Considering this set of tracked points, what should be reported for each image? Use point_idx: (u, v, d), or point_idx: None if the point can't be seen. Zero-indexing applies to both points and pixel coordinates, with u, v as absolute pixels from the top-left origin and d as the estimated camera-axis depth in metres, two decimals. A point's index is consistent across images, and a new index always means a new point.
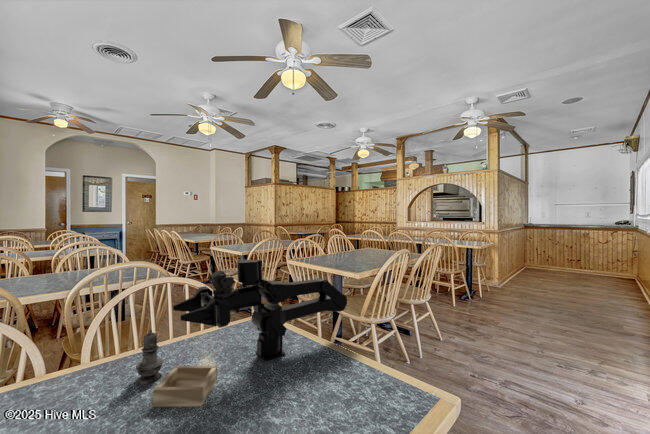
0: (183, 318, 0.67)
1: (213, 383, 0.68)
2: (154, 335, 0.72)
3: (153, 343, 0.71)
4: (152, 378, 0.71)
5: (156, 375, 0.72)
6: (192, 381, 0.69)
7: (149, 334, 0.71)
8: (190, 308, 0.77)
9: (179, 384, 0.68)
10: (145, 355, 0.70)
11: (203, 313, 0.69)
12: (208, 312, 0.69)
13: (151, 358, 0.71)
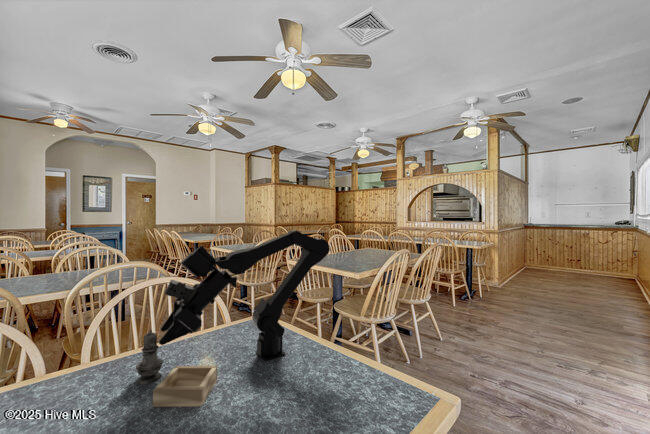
0: (162, 342, 0.69)
1: (213, 383, 0.68)
2: (154, 335, 0.72)
3: (153, 343, 0.71)
4: (152, 378, 0.71)
5: (156, 375, 0.72)
6: (192, 381, 0.69)
7: (149, 334, 0.71)
8: None
9: (179, 384, 0.68)
10: (145, 355, 0.70)
11: (175, 328, 0.69)
12: (179, 325, 0.70)
13: (151, 358, 0.71)
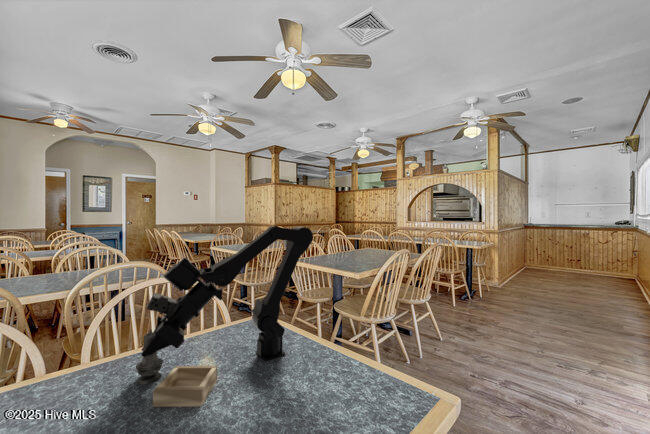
0: (144, 354, 0.69)
1: (213, 383, 0.68)
2: (154, 335, 0.72)
3: None
4: (152, 378, 0.71)
5: (156, 375, 0.72)
6: (192, 381, 0.69)
7: (149, 334, 0.71)
8: None
9: (179, 384, 0.68)
10: None
11: (158, 340, 0.70)
12: None
13: (151, 358, 0.71)
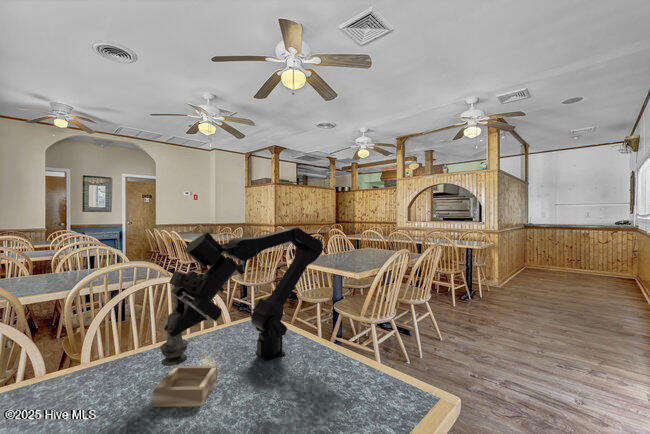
0: (173, 334, 0.65)
1: (213, 383, 0.68)
2: (179, 314, 0.68)
3: None
4: (179, 359, 0.67)
5: (181, 356, 0.68)
6: (192, 381, 0.69)
7: (174, 313, 0.67)
8: None
9: (179, 384, 0.68)
10: None
11: (187, 318, 0.66)
12: (191, 313, 0.67)
13: (178, 338, 0.67)
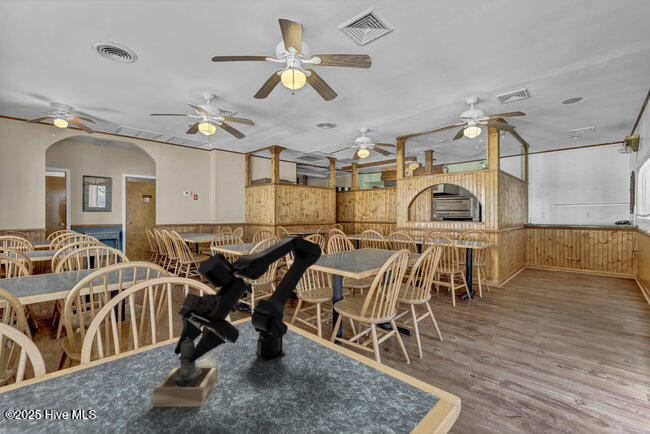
0: (192, 360, 0.63)
1: (213, 383, 0.68)
2: (193, 342, 0.66)
3: None
4: None
5: (194, 384, 0.67)
6: None
7: (188, 341, 0.65)
8: (191, 339, 0.70)
9: None
10: (186, 364, 0.65)
11: (206, 342, 0.65)
12: (209, 337, 0.66)
13: (193, 366, 0.66)
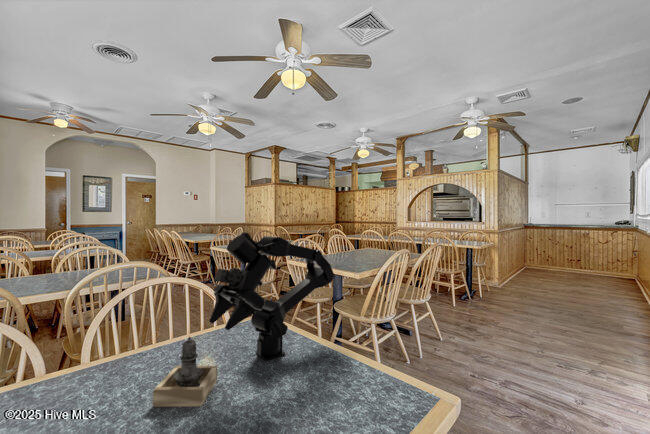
0: (228, 327, 0.70)
1: (213, 383, 0.68)
2: (194, 342, 0.66)
3: (195, 350, 0.66)
4: None
5: (194, 384, 0.67)
6: None
7: (190, 341, 0.66)
8: (223, 310, 0.79)
9: None
10: (187, 364, 0.65)
11: (239, 311, 0.71)
12: (242, 307, 0.72)
13: (194, 366, 0.66)
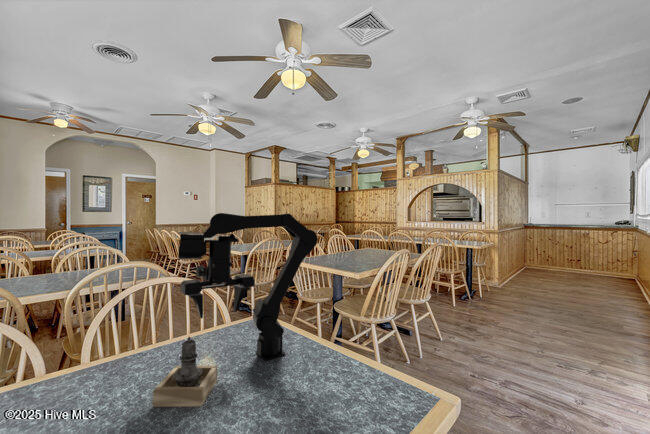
0: (200, 316, 0.77)
1: (213, 383, 0.68)
2: (194, 342, 0.66)
3: (194, 350, 0.66)
4: None
5: (194, 384, 0.67)
6: None
7: (189, 341, 0.66)
8: (237, 298, 0.82)
9: None
10: (187, 364, 0.65)
11: None
12: None
13: (193, 366, 0.66)
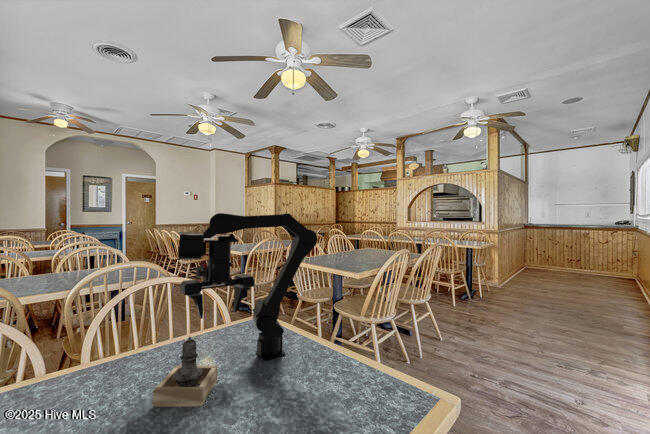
0: (200, 316, 0.77)
1: (213, 383, 0.68)
2: (195, 341, 0.67)
3: (195, 350, 0.66)
4: None
5: (194, 384, 0.67)
6: None
7: (190, 341, 0.66)
8: (237, 298, 0.82)
9: None
10: (187, 364, 0.65)
11: None
12: None
13: (194, 366, 0.66)
